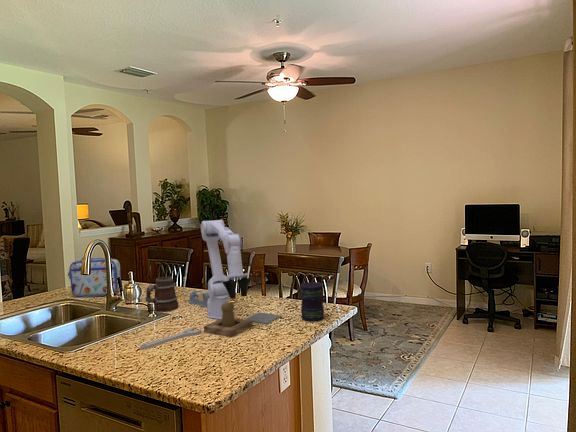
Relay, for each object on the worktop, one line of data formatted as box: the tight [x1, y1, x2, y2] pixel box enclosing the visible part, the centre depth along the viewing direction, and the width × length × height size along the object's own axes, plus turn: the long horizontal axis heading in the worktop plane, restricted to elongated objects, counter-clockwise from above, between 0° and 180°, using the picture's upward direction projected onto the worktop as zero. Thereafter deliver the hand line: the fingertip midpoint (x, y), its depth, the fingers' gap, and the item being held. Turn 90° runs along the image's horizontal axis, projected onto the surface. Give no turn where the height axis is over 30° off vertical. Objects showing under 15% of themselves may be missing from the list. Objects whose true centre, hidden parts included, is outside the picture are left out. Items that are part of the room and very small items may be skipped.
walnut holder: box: [203, 317, 253, 338], centre depth 176 cm, size 14×14×2 cm
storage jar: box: [300, 281, 325, 323], centre depth 186 cm, size 10×10×15 cm
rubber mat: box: [243, 311, 283, 325], centre depth 189 cm, size 12×12×1 cm
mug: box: [145, 276, 179, 312], centre depth 209 cm, size 16×12×15 cm
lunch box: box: [67, 257, 121, 298], centre depth 243 cm, size 28×10×22 cm, turn 93°
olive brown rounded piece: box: [221, 302, 235, 327], centre depth 175 cm, size 6×6×11 cm
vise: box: [182, 289, 210, 309], centre depth 219 cm, size 18×10×7 cm, turn 45°
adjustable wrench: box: [139, 327, 202, 351], centre depth 167 cm, size 25×6×2 cm, turn 131°
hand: (238, 297), depth 173 cm, fingers open, 7 cm apart
